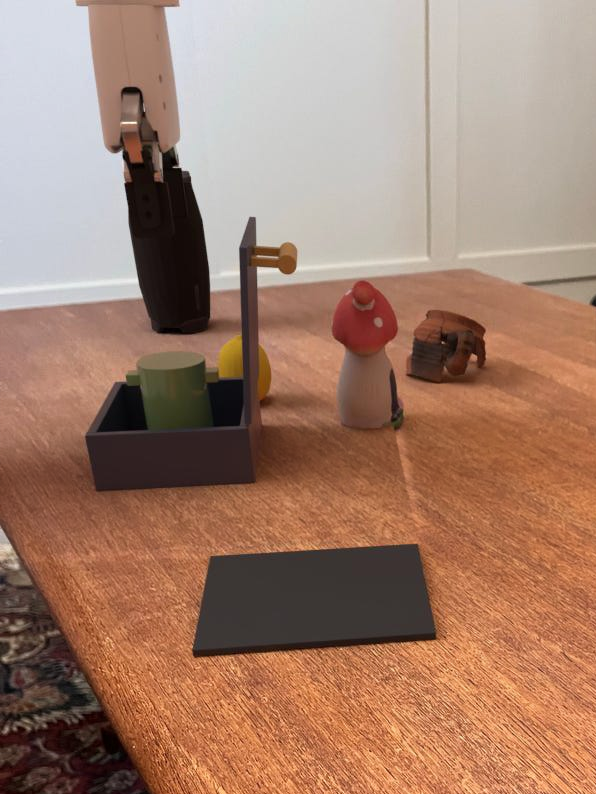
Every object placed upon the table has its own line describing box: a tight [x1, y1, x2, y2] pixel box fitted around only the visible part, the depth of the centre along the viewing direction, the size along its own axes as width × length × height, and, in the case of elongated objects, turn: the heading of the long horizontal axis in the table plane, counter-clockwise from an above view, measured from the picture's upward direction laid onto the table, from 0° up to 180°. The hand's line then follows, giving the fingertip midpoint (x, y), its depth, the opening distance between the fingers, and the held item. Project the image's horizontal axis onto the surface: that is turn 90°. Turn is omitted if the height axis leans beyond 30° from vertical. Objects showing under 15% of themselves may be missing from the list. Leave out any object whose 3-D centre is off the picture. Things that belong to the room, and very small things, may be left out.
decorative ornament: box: [330, 280, 405, 430], centre depth 101 cm, size 9×6×15 cm
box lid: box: [238, 216, 298, 424], centre depth 90 cm, size 14×16×4 cm
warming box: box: [84, 377, 263, 492], centre depth 94 cm, size 14×16×6 cm
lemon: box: [217, 333, 272, 402], centre depth 108 cm, size 6×6×8 cm
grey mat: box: [191, 543, 437, 657], centre depth 73 cm, size 16×14×1 cm
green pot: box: [125, 350, 220, 430], centre depth 93 cm, size 8×6×9 cm
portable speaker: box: [127, 170, 211, 334], centre depth 135 cm, size 9×9×20 cm
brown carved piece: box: [405, 309, 487, 384], centre depth 120 cm, size 12×10×8 cm
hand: (162, 227), depth 85 cm, fingers open, 9 cm apart
